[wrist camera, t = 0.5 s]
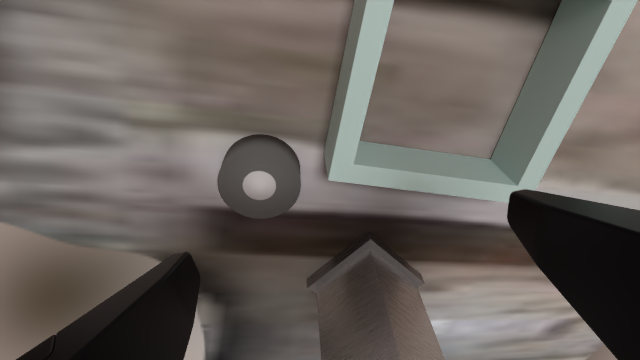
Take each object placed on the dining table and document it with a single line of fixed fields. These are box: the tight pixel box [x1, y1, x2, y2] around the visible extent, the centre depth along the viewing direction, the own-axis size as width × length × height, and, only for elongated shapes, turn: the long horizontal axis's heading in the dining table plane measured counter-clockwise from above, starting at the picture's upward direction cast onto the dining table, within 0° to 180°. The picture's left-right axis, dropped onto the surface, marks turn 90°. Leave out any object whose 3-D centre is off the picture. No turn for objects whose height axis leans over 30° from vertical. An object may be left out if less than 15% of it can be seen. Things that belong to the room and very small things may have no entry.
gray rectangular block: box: [307, 231, 445, 360], centre depth 25 cm, size 6×6×11 cm
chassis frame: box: [324, 0, 638, 203], centre depth 18 cm, size 12×19×4 cm, turn 170°
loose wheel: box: [218, 134, 301, 219], centre depth 23 cm, size 5×5×2 cm
